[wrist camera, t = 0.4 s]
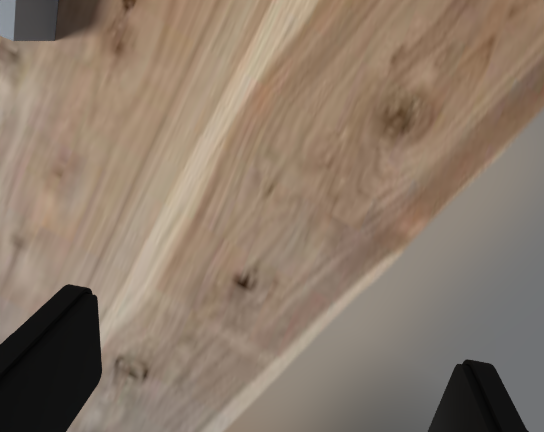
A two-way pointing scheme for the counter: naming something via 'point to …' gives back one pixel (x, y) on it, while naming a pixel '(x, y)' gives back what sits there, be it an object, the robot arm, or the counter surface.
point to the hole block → (28, 19)
